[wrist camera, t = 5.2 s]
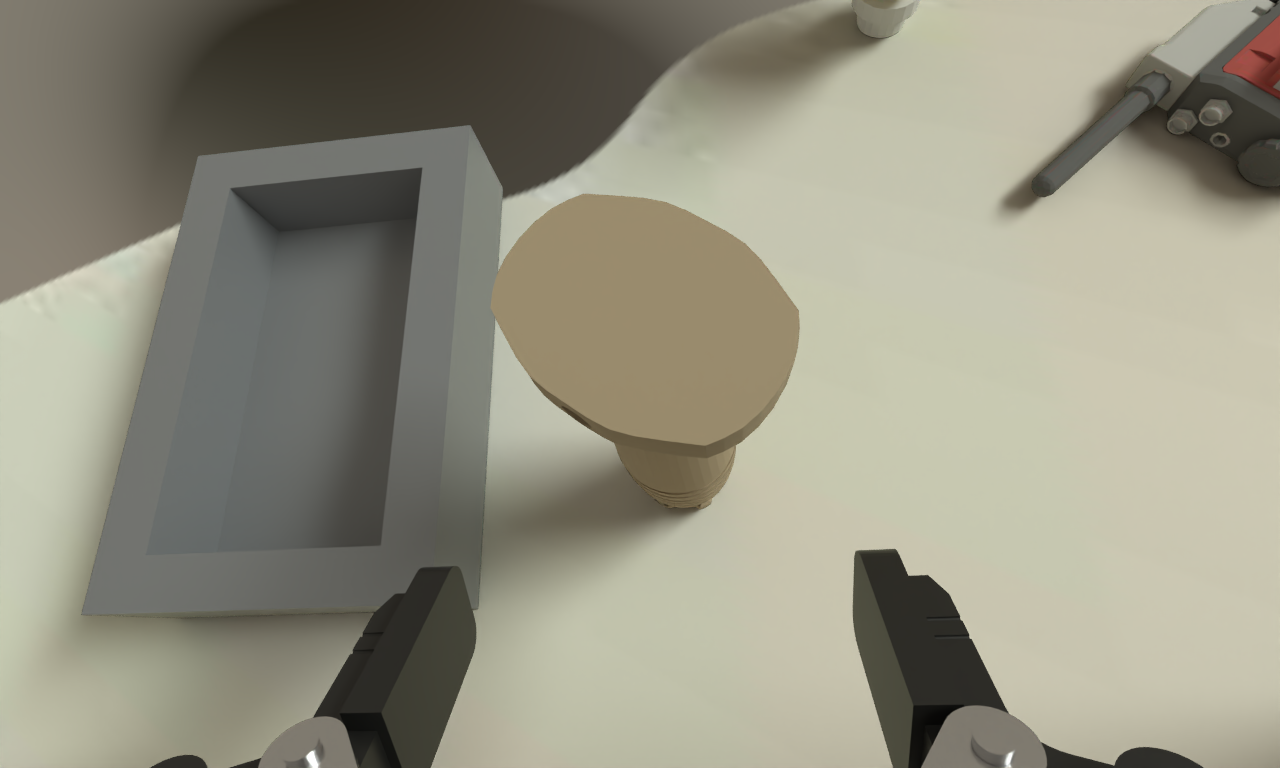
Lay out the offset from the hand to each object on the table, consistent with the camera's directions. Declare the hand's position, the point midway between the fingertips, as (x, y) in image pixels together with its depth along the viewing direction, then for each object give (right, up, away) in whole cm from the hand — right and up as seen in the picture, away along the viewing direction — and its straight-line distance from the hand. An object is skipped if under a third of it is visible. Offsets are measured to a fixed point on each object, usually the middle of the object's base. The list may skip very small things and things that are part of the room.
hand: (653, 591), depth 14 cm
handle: (+2, +1, +14) cm, 14 cm away
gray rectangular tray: (-13, +4, +17) cm, 22 cm away
